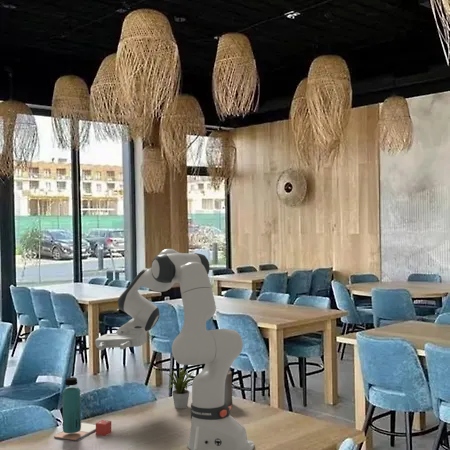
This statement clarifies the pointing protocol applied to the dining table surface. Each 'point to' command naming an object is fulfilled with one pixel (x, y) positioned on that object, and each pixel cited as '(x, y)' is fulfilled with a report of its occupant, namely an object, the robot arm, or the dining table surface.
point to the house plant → (180, 389)
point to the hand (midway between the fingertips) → (110, 348)
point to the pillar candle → (228, 389)
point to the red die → (103, 427)
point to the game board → (85, 431)
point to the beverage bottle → (71, 407)
